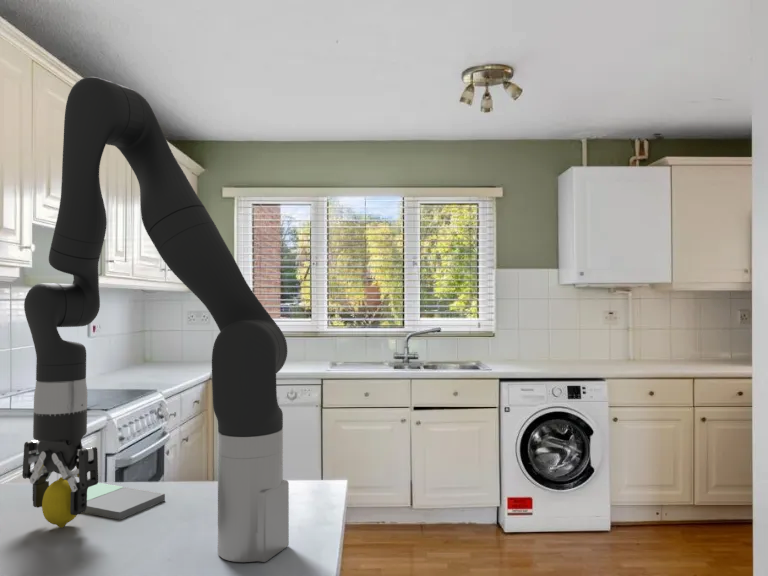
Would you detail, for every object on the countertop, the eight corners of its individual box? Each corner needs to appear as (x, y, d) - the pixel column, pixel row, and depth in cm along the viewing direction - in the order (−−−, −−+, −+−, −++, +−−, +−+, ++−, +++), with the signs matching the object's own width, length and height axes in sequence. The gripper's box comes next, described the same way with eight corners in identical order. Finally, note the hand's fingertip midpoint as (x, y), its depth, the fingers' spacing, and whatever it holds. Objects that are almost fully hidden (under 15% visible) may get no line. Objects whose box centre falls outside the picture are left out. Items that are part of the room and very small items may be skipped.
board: (164, 500, 104) (164, 493, 105) (119, 519, 95) (119, 512, 95) (87, 487, 112) (87, 480, 112) (38, 503, 103) (38, 496, 103)
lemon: (64, 535, 89) (64, 483, 89) (33, 533, 90) (33, 481, 90) (89, 522, 94) (89, 473, 95) (59, 519, 95) (60, 471, 96)
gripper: (112, 407, 93) (111, 508, 93) (51, 400, 99) (49, 496, 98) (71, 415, 86) (69, 525, 86) (8, 408, 92) (6, 510, 91)
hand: (59, 509), depth 92 cm, fingers open, 8 cm apart
